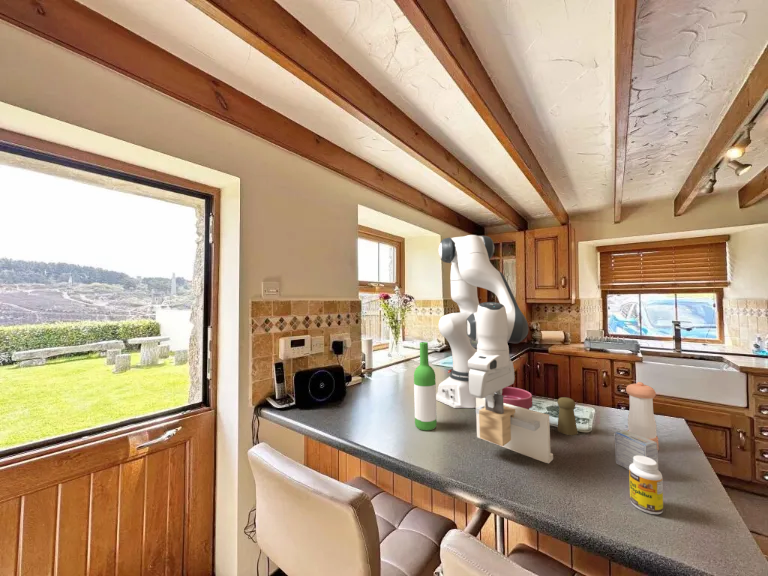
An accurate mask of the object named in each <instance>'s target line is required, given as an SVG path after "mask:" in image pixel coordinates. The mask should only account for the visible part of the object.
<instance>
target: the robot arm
mask: <svg viewBox="0 0 768 576" xmlns="http://www.w3.org/2000/svg"><path fill="white" fill-rule="evenodd" d="M494 252H495V244H494V241H493V239H492V237H490V236H488V235H477V234H468V235H464V236H455V237H446V238H443V239H442V240H440V243H439V246H438V256H439V258H440V260H441V261H442V262H443V263H446V264H451V266H450V275H449V277H450V278H449V279H450V280H449V282H450V298H451V300H452V301H453V302H455V303H456V305H457V306H458V309H459V312H452V313H448V314H445V315H443V316H441V317H440V319H439V320H438V324H437V326H438V327H437V328H438V331H439V333H440V335H441V336H442V337H443V338H444V339H446V341H447V342H448V344H449V346H450V350H451V355H452V356H451V357H452V367H451V368H450V369H448V370H447V371H448V372H447V373H448V374H449V373H450V374H449V376H448V377H446V378H445V379H444V380H442V381H441V382H440V383H439V384H438V386H437V391H436V402H437V401H438V402H440V403H441V404H445V405H447V406H449V407H451V408H454V409H460V408H465V409H474V408H475V409H476V398H480V399H482V398H485V397H486V399H487V401H488V407H491V408H494V407H495V406H496V401H494V398H493V396H494V393H495V394H499V395H502V389H503V388H505V387H511V386H512V385H513V384H514V383H515V379H516V378H515V367H514V363H513V361H512V360H511V357H510V348H509V347H510V346H509V345H508V343H509V344H519V343H521V342H522V341H523V340H524V339H525V338H527V336H528V334H529V324H528V321H527V318H526V316H525V315H524V313H523V312H522V310H521V309H520V307H519V305H518V303H517V300H516V298H515V296H514V294H513V291H512V289H511V287H510V284H509V283H508V281H507V279H506V277H505V276H504V274H503V272H501V271H499V270H498V269H497V268H495V266H494V265H493V264H492V263H491V259H492V258H493V255H494ZM478 288H481V289H484V290H487V291H490V292H492V293H493V294H494V295H495V296H496V297H497V300H498V302H495V301H485V302H480V301H479V297H478ZM471 341H473V342H477V345H476V348H475V347H474V346H473V345H472V343H471Z"/></svg>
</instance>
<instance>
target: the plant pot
mask: <svg viewBox="0 0 768 576" xmlns="http://www.w3.org/2000/svg"><path fill="white" fill-rule="evenodd" d="M502 395H503V403H506V404H510V405H514V406H518V407H521V408H525V409H529V410H530V409H531V408H532V407H533V394H532V393H531V392H529V391H528V390H525V389H522V388H518V387H512V386H507V387H505V388H503V389H502Z"/></svg>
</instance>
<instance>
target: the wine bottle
mask: <svg viewBox="0 0 768 576" xmlns="http://www.w3.org/2000/svg"><path fill="white" fill-rule="evenodd" d="M436 383H437V382H436V372H435V370H434V369H433V367H432V366H430V364H429V343H428V342H426V341H420V342H419V365H418V366H417V367H416V368H415V370H414V372H413V393H414V394H413V396H414V397H413V400H414V403H413V404H414V425H415V427H416V428H417V429H418V430H421V431H432V430H434V429H435V428H437V424H438V423H437V418H438V417H437V400H436V393H437V390H436V389H437V388H436V387H437V384H436Z"/></svg>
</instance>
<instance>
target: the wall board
mask: <svg viewBox="0 0 768 576" xmlns="http://www.w3.org/2000/svg"><path fill="white" fill-rule="evenodd" d="M503 405H504V406H506V407H509V408H513V409H515V413H514V418H513V417H510V422H511V441H509V442H508V443H507V444H505V445H504V446H500V445H498V444H495V443H492V442H490V441H487V440H484V439H482V438H480V424H479V410H481V409H483V408H485V397H484V398H482V399H480V398H476V408H475V415H476V416H475V417H476V438H477V439H480V440H481V439H482V440H483V441H486V442H489V443H491V444H495V445H497V446H500V447H501V448H502V447H503V448H504V449H508V450H511V451H514V452H516V453H518V454H521V455H523V456H527V457H528V458H529V457H530V458H532V459H534V460H537V461H540V462H543V463H545V464H548V465H549V464H550V463H552V461H553V460H554V454H553V453H552V452H551V432H550V431H551V430H550V427H551V426H550V414H548V413H544V412H540V411H536V410H532V409H530V408H529V409H525V408H521V407H518V406H514V405H510V404H506V403H503Z"/></svg>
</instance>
